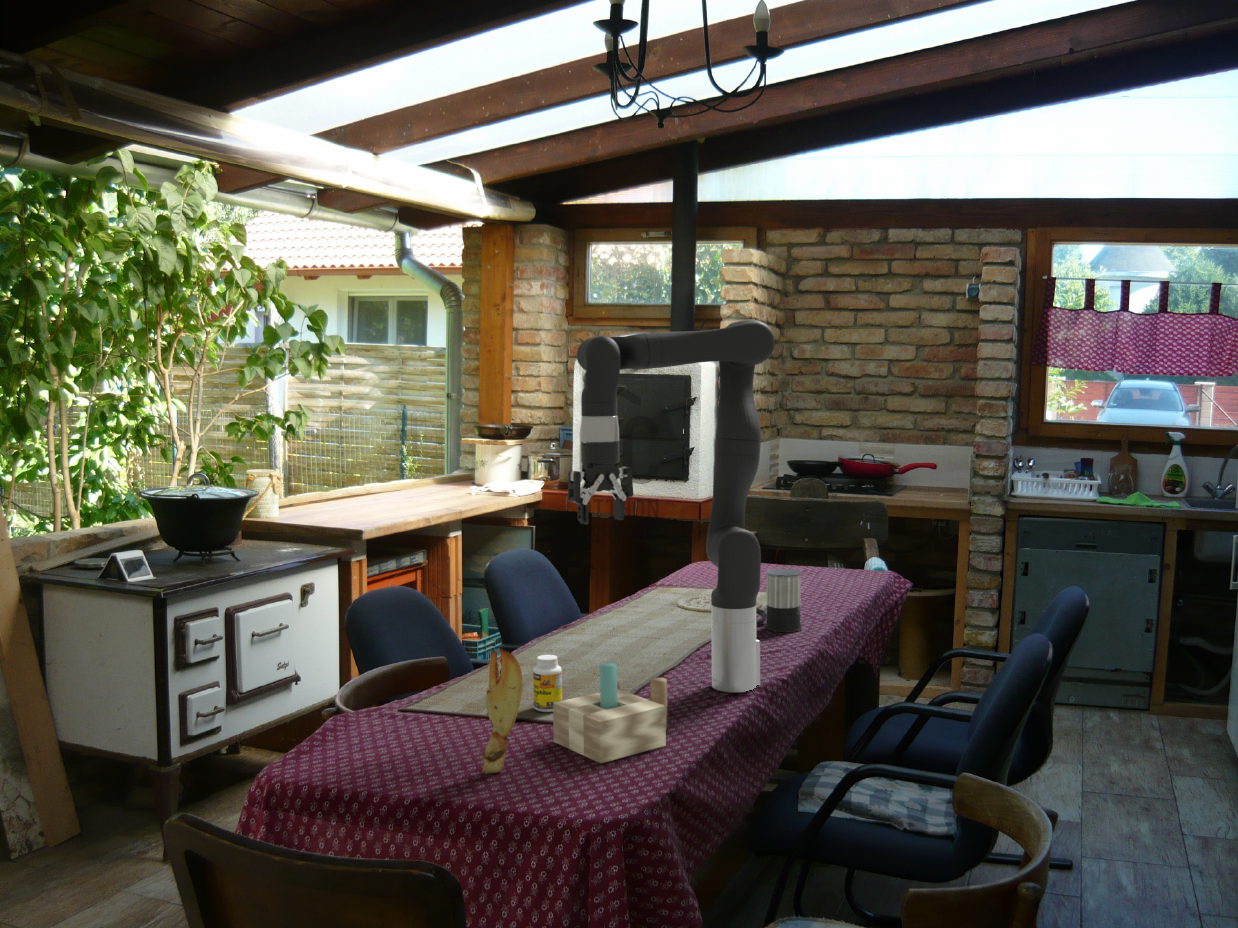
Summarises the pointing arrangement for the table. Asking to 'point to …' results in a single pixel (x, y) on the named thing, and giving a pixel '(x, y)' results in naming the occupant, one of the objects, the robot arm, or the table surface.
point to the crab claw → (501, 707)
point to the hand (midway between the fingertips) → (601, 521)
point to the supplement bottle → (547, 683)
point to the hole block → (609, 726)
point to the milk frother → (782, 601)
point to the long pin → (608, 685)
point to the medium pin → (659, 692)
